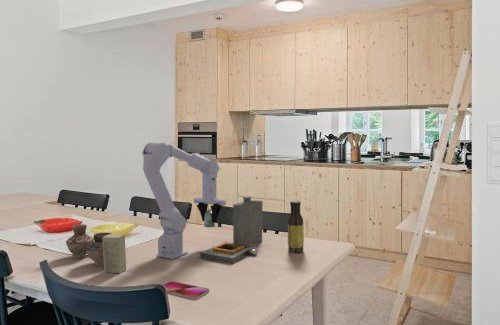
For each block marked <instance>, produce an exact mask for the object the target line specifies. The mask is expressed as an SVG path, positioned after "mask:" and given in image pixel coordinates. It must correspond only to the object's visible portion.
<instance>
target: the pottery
mask: <svg viewBox="0 0 500 325" xmlns="http://www.w3.org/2000/svg"><path fill="white" fill-rule="evenodd" d="M87 226H88V225H87V224H82V223H80V224H75V225H72V230H73V235H72V236H70V237H69V238H68V239H66V240H65V244H66V247H67V250H68V251H69V252H70V253H71V254H72V255H71V258H72V259H83V258H87V257H89V259H90V260H91V261H93V262H94V263H93V264H94V266H96V265H97V267H104V266H103V265H104V261H103V240H102V237H104V236H107V235H109V234H111V235H113V233H112V232H98V233H94V234H93V236H91V235H89V234H87V228H88V227H87ZM86 254H88V256H87V255H86Z"/></svg>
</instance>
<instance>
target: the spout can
mask: <svg viewBox="0 0 500 325" xmlns="http://www.w3.org/2000/svg"><path fill="white" fill-rule="evenodd" d="M203 223H204V224H203V225H204V226H203V227H205V228H214V227H216V222H212V210H211V208H209V209H208V208H207V211H205V212H204V221H203Z"/></svg>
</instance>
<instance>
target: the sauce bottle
mask: <svg viewBox="0 0 500 325" xmlns="http://www.w3.org/2000/svg"><path fill="white" fill-rule="evenodd" d="M289 204H290V214H289V216H288V218H287V246H288V252H290V253H301V252H303V251H304V246H305V244H304V241H305V240H304V236H305V234H304V217H303V216H302V214H301V201H298V200H291V201H290V202H289Z"/></svg>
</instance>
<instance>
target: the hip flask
mask: <svg viewBox="0 0 500 325" xmlns="http://www.w3.org/2000/svg"><path fill="white" fill-rule="evenodd" d="M242 199H243V202H237V203H233V205H232V207H233V208H232V214H233V215H232V219H233V222H232V223H233V225H232V226H233V227H232V232H233V236H232V237H233V238H232V241H233V242H232V243H237V244H244V245H249V244H253V243H256V242H262V241H263V200H256V199H255V200H253V199H252V196H249V195H248V196H242Z"/></svg>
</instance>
